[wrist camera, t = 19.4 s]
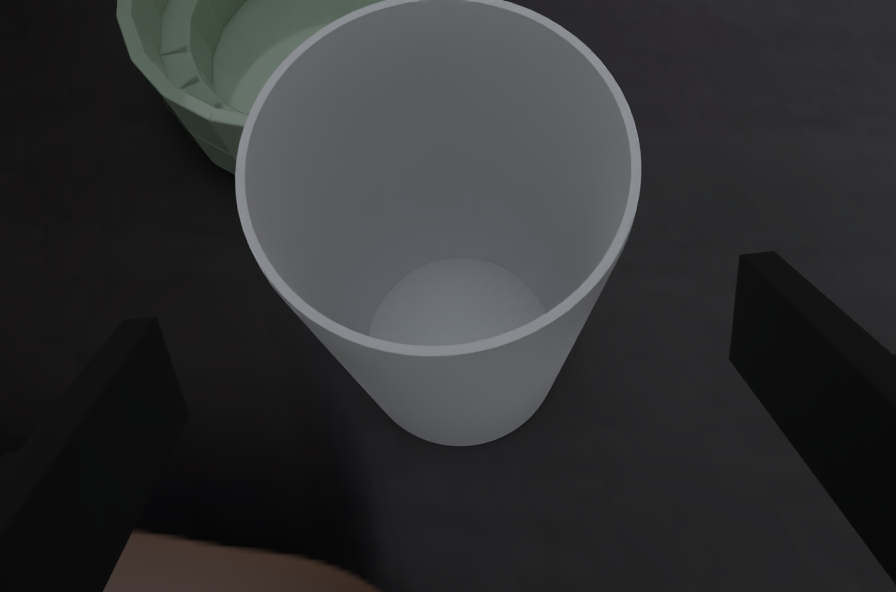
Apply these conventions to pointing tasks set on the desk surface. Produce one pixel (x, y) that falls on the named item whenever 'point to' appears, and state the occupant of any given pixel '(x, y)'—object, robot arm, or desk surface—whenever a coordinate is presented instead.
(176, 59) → the ceramic bowl
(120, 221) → the desk surface
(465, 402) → the cup
